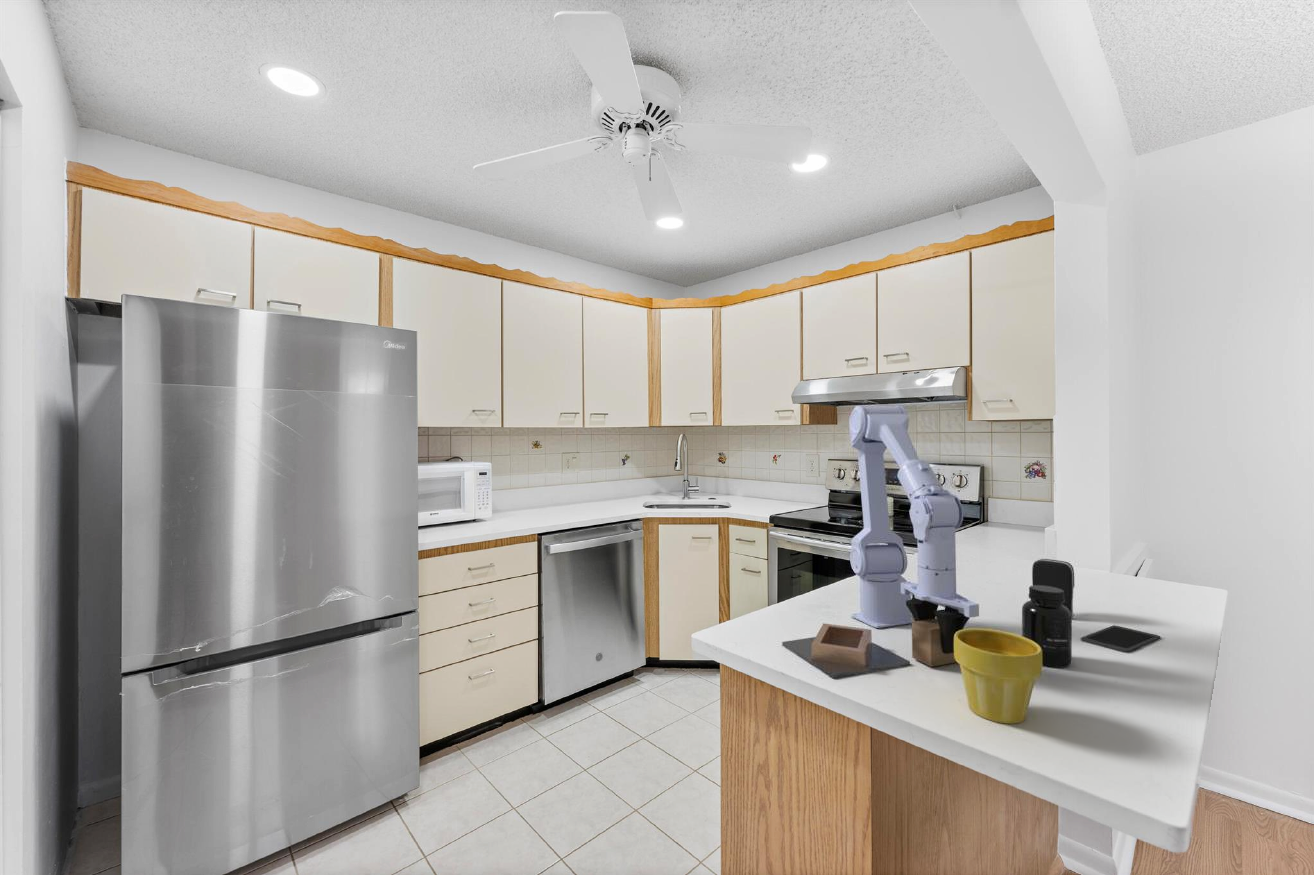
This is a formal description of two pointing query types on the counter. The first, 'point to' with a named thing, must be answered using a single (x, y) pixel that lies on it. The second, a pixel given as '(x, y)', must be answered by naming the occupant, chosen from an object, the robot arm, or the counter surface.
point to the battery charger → (1055, 577)
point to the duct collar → (844, 651)
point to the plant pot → (997, 672)
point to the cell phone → (1120, 639)
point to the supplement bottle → (1048, 624)
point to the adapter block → (929, 643)
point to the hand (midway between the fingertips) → (937, 647)
